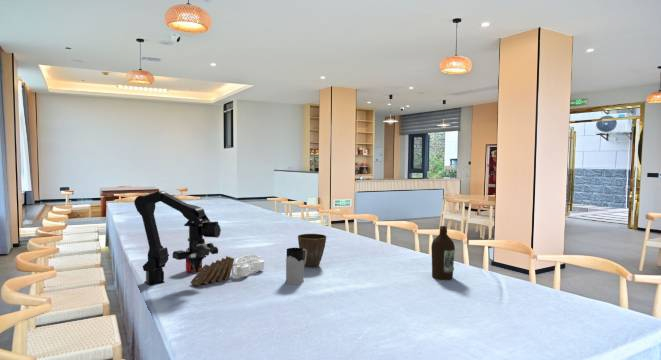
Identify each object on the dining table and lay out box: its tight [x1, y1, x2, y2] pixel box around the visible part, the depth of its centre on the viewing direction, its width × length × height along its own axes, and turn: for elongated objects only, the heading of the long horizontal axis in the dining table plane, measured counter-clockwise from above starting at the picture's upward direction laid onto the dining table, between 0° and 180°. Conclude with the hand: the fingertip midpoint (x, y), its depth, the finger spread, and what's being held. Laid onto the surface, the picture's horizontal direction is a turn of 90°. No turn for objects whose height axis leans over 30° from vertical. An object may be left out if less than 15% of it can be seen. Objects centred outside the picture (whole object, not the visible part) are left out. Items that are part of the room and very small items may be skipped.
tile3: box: [208, 259, 225, 284], centre depth 184 cm, size 2×5×10 cm
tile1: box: [189, 264, 214, 288], centre depth 179 cm, size 2×5×10 cm
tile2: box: [201, 261, 220, 285], centre depth 181 cm, size 2×5×10 cm
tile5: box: [222, 255, 235, 281], centre depth 188 cm, size 2×5×10 cm, turn 42°
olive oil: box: [430, 225, 456, 281], centre depth 191 cm, size 11×11×25 cm
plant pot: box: [297, 233, 327, 269], centre depth 212 cm, size 15×15×16 cm
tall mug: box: [284, 247, 307, 285], centre depth 186 cm, size 9×14×15 cm, turn 152°
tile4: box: [216, 257, 230, 283], centre depth 186 cm, size 2×5×10 cm, turn 43°
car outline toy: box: [231, 254, 265, 280], centre depth 196 cm, size 20×11×7 cm, turn 150°
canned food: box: [185, 247, 203, 274], centre depth 201 cm, size 8×8×11 cm
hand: (196, 272), depth 177 cm, fingers closed
